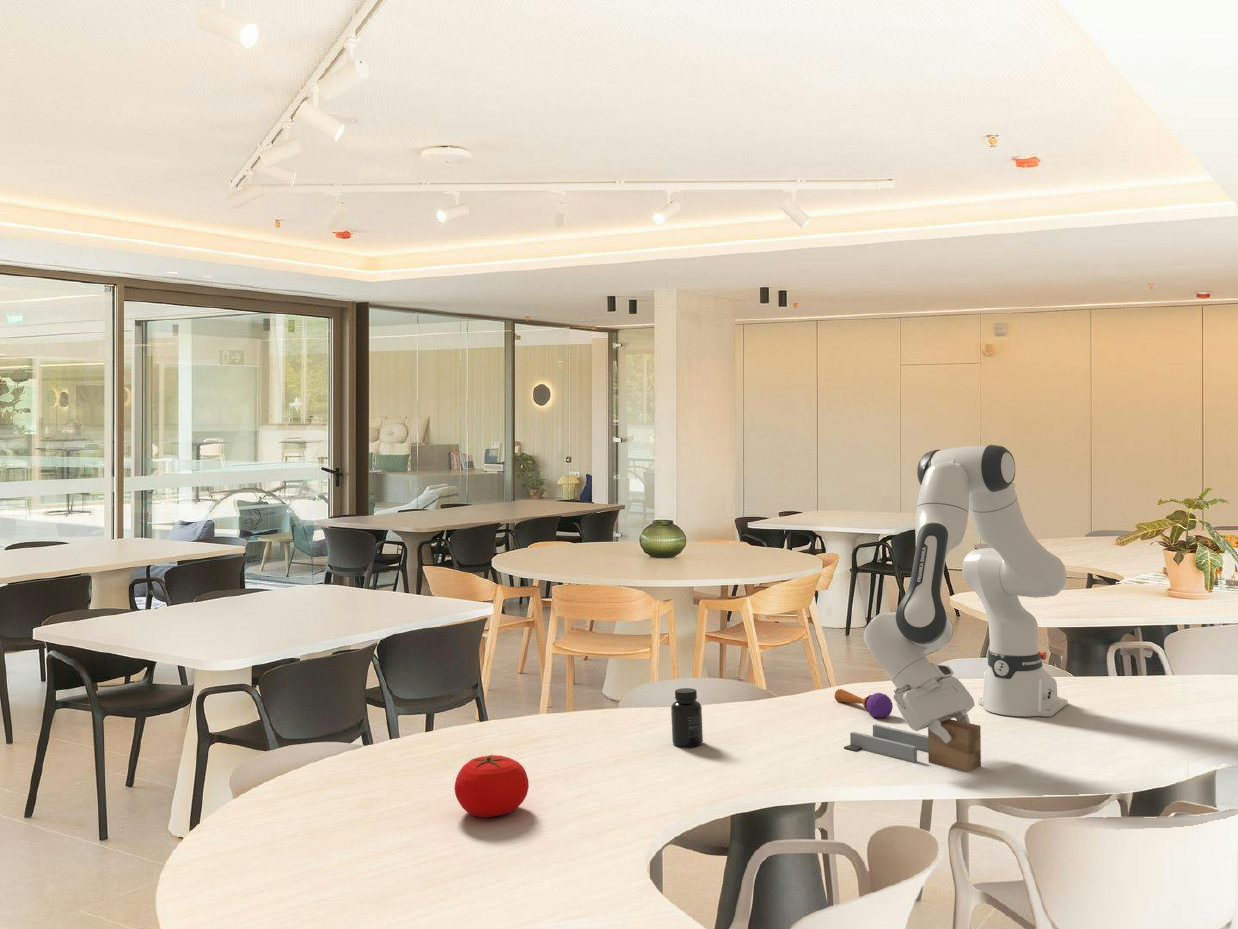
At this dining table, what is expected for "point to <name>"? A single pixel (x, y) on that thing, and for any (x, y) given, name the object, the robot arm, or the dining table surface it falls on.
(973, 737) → the block
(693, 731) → the supplement bottle
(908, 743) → the channel
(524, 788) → the tomato
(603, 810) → the dining table surface
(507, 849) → the dining table surface
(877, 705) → the purple maraca
